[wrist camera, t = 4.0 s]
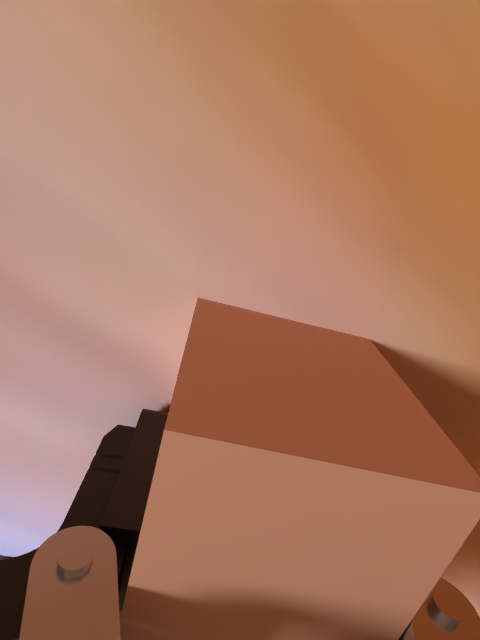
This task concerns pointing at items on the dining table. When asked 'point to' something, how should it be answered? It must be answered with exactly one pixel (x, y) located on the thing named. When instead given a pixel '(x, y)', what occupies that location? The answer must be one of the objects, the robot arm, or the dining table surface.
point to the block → (293, 491)
